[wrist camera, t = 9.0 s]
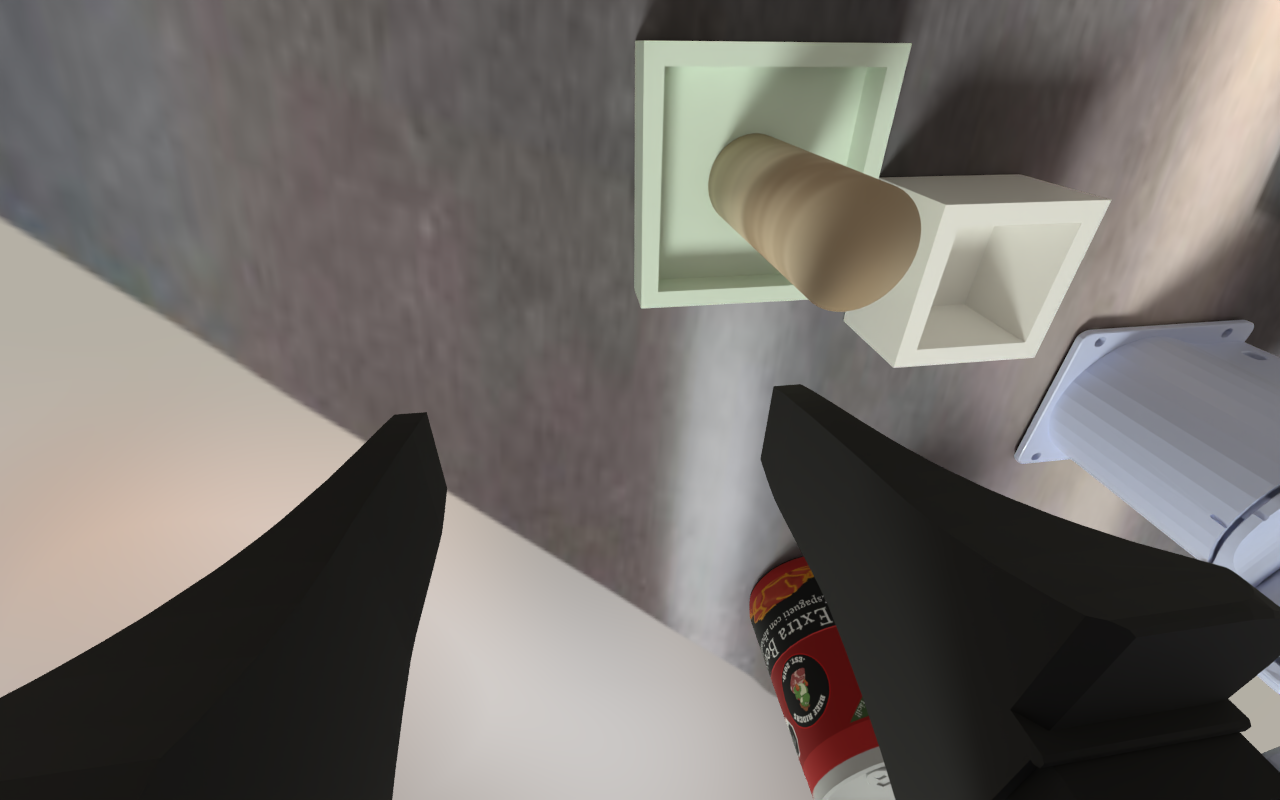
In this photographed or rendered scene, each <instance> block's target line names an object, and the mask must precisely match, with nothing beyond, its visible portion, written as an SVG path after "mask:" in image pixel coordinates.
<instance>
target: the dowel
mask: <svg viewBox="0 0 1280 800" xmlns="http://www.w3.org/2000/svg"><path fill="white" fill-rule="evenodd" d="M708 192H709V197H710V201H711V203H712V206H713V208H714V209H715V211H716V212H717V213H718V215H719V216H721V217H722V218H723V219H724V220H725V221H726V222H727V223H728V224H729V225H730V226H731V227H732V228H733V229H734V230H735V231H736V232H737V233H739V234H740V235H741V236H742V237H743V238H744V239H745V240H746V241H747V242H748V243H749V244H750V245H751V246H752V247H753V248H754V249H756V250H757V251H758V252H759V253H760V254H761V255H762V256H763V257H764V258H765V259H766V260H767V261H768V262H769V263H770V264H771V265H773V266H774V267H775V268H776V269H777V270H778V271H779V272H780V273H781V274H782V275H783V276H784V277H785V278H786V279H787V280H788V281H789V282H791V283H792V284H793V285H794V286H795V287H796V288H797V289H798V290H799V291H800V292H801V293H802V294H803V295H804V296H805V297H806V298H808V299H809V300H810V301H811V302H812V303H813V304H815V305H816V306H818V307H820V308H823V309H825V310H829V311H836V312H845V311H852V310H856V309H860V308H862V307H865V306H868V305H870V304H872V303H873V302H875V301H877V300H879V299H880V298H882V297H883V296H884V295H886V294H887V293H888V292H889V291H891V290H892V289H893V288H894V287H895V286H896V285H897V284H898V282H899V281H900V280H901V279H902V278H903V276H904V275H905V274H906V272H907V271H908V269H909V267H910V266H911V264H912V262H913V260H914V258H915V256H916V253H917V250H918V247H919V243H920V237H921V220H920V214H919V211H918V208H917V206H916V204H915V203H914V201H913V200H912V198H911V197H910V196H909V195H908V194H907V193H906V192H905V191H904V190H902V189H900V188H898V187H897V186H894V185H892V184H889V183H887V182H884V181H882V180H879V179H877V178H874V177H872V176H869V175H867V174H864V173H861V172H859V171H856V170H854V169H851V168H849V167H846V166H844V165H841V164H839V163H836V162H834V161H831V160H829V159H826V158H824V157H821V156H819V155H816V154H814V153H811V152H809V151H806V150H804V149H801V148H799V147H796V146H794V145H791V144H789V143H786V142H784V141H781V140H779V139H776V138H774V137H771V136H769V135H766V134H760V133H753V134H747V135H743V136H741V137H739V138H737V139H735V140H733V141H732V142H730V143H729V144H728V145H727V146H726V147H725V148H724V149H723V150H722V151H721V152H720V153H719V155H718V156H717V158H716V159H715V161H714V163H713V165H712V168H711V171H710V175H709V181H708Z"/></svg>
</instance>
